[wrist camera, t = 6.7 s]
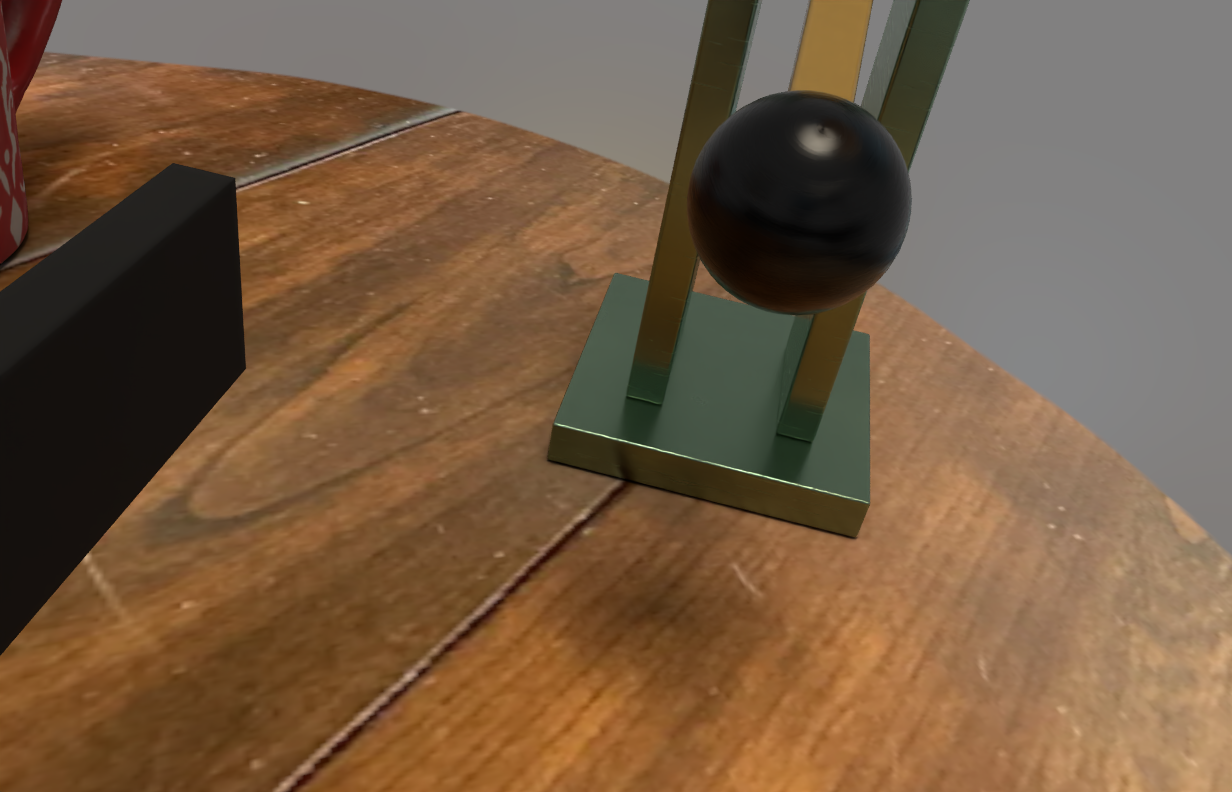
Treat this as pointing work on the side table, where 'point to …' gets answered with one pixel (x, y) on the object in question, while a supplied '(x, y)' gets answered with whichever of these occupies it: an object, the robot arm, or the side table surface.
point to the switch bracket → (744, 325)
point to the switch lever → (803, 181)
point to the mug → (3, 68)
